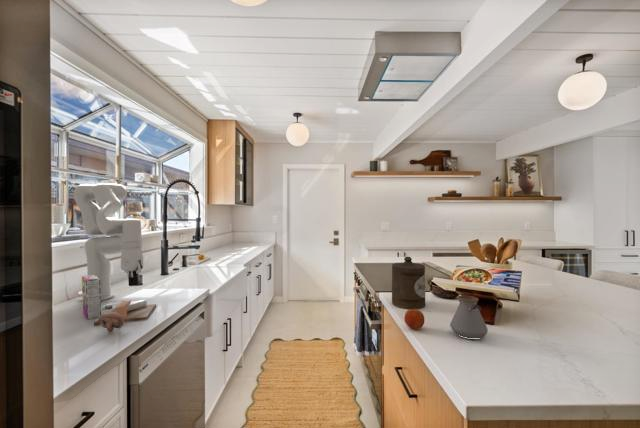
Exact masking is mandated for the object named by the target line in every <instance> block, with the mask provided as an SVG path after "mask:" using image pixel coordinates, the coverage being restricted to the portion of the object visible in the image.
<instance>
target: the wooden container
mask: <svg viewBox="0 0 640 428" xmlns="http://www.w3.org/2000/svg"><path fill="white" fill-rule="evenodd" d="M412 259H413V258H412V257H411V256H405V257H404V258H403V260H404V261H403V262H395V263H392V265H391V304H392V305H393V306H395V307H396V308H400V309H405V310H410V309H416V310H419V309H422V308H425V307H426V266H425V264H421V263H417V262H413V261H412ZM414 307H415V308H414Z"/></svg>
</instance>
